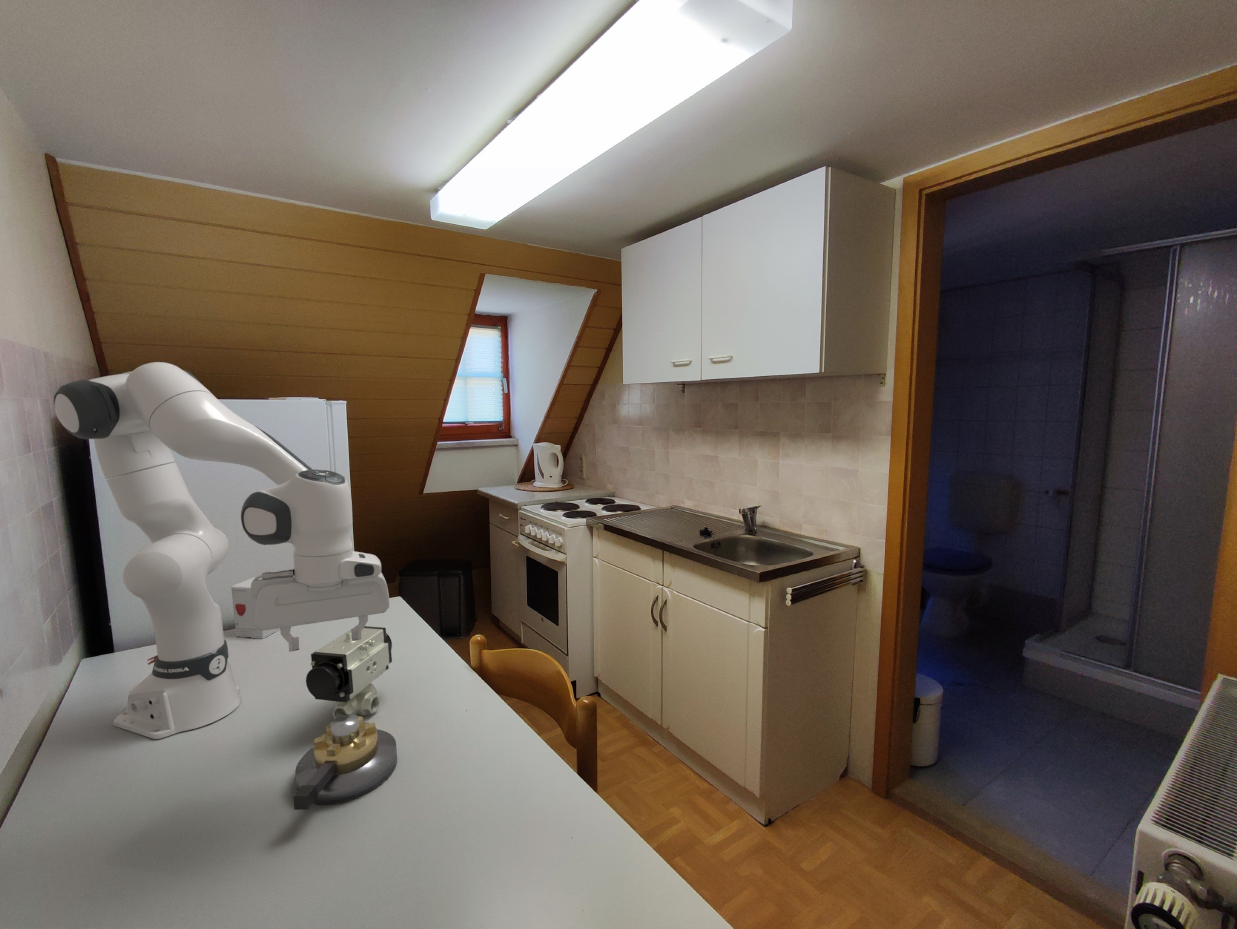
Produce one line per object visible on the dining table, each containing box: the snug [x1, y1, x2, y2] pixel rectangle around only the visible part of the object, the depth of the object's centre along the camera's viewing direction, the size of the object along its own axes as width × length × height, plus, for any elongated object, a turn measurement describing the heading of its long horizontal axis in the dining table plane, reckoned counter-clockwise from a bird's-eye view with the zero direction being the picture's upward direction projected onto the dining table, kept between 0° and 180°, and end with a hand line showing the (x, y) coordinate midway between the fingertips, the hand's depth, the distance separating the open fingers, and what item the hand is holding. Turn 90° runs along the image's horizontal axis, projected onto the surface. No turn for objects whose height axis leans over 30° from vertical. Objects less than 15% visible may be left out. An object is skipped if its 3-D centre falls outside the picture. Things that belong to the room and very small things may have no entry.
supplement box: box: [230, 576, 281, 640], centre depth 156 cm, size 9×9×15 cm
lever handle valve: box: [292, 716, 378, 811], centre depth 92 cm, size 18×10×4 cm, turn 179°
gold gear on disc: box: [294, 714, 398, 806], centre depth 97 cm, size 16×16×10 cm
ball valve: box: [305, 625, 393, 720], centre depth 114 cm, size 18×8×18 cm, turn 168°
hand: (326, 644), depth 94 cm, fingers open, 8 cm apart
